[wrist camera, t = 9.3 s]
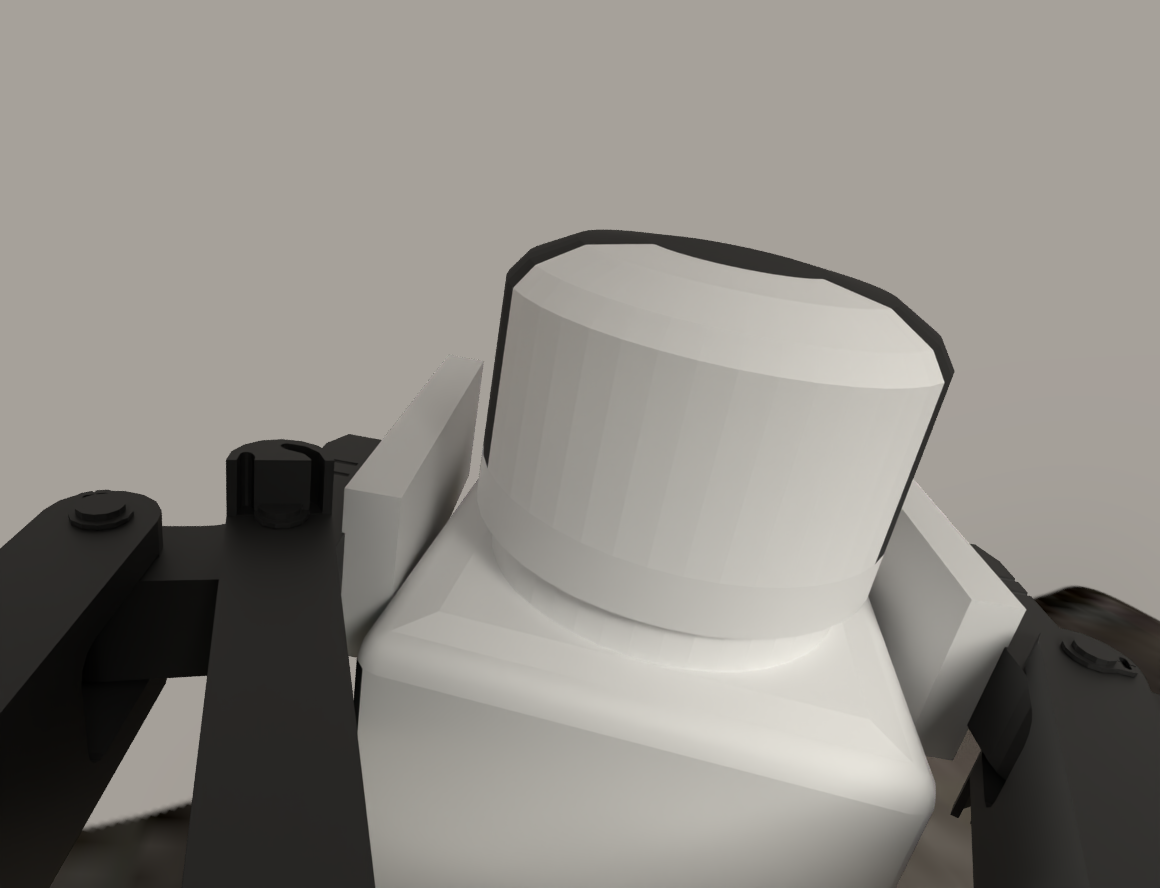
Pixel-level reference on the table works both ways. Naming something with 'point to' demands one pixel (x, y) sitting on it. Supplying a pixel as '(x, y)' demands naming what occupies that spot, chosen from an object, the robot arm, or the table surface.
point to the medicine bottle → (662, 589)
